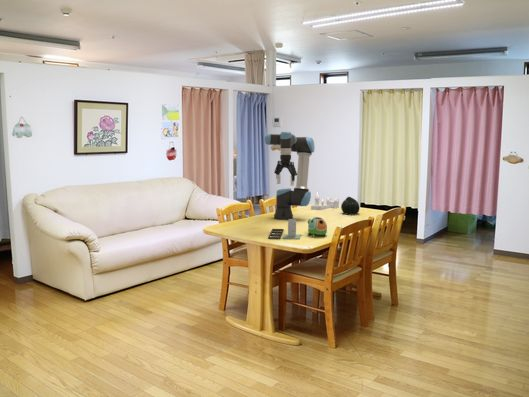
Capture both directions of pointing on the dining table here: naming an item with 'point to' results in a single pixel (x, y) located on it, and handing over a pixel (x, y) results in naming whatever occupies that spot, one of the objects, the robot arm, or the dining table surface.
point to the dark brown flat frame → (276, 233)
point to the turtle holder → (317, 226)
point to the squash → (350, 206)
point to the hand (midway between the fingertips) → (285, 184)
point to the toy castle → (329, 203)
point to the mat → (291, 237)
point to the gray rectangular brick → (292, 228)
